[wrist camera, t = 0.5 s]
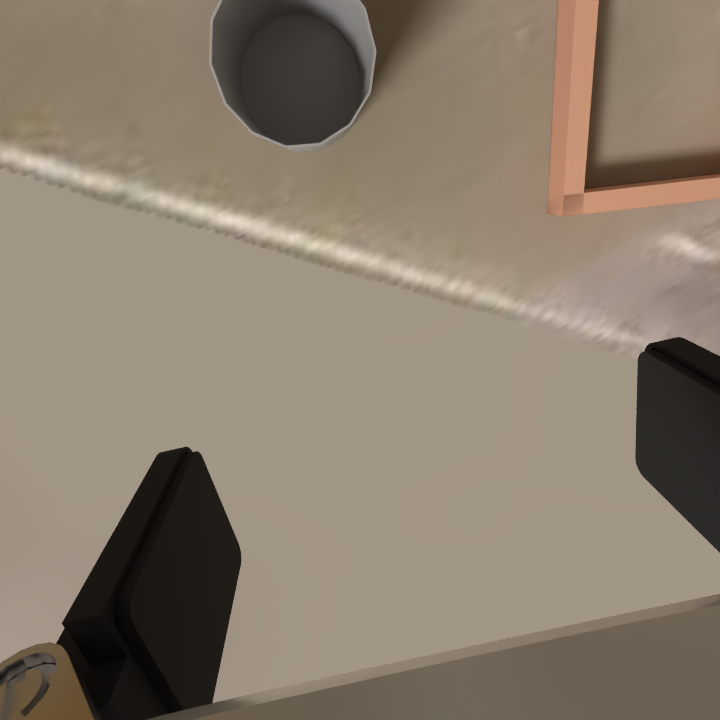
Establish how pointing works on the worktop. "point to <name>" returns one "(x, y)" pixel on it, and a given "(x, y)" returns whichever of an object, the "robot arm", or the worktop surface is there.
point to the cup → (293, 67)
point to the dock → (573, 131)
